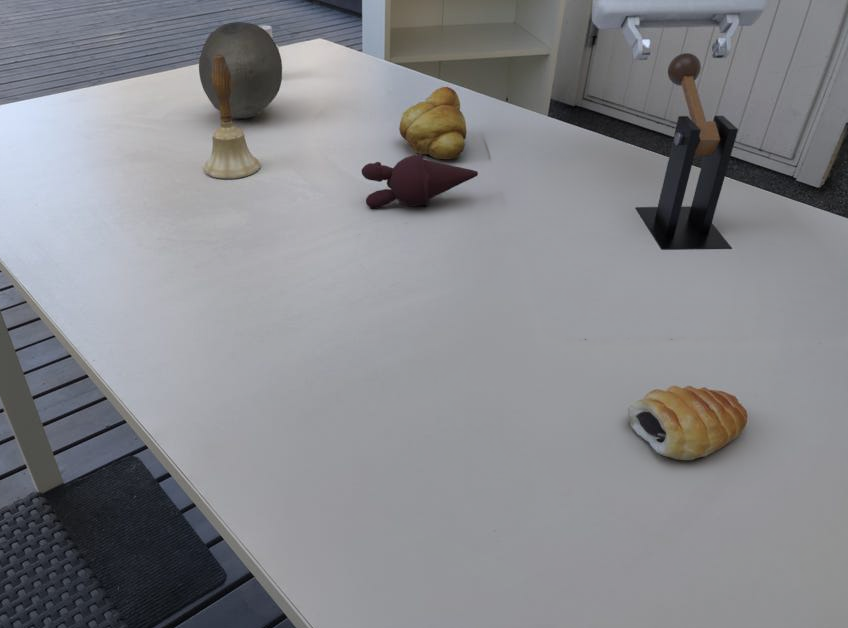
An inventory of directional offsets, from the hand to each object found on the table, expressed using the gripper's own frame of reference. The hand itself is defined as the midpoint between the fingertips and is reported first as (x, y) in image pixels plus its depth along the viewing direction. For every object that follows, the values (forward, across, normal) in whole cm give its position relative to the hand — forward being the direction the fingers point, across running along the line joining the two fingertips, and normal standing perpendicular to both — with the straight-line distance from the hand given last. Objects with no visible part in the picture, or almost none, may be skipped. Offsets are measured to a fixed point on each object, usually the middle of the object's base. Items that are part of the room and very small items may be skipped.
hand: (682, 56), depth 89 cm
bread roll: (0, -28, +25) cm, 37 cm away
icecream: (+14, -31, +11) cm, 36 cm away
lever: (+8, 0, -1) cm, 8 cm away
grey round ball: (-11, -59, +36) cm, 70 cm away
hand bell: (+5, -58, +20) cm, 62 cm away
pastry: (+46, -11, -20) cm, 51 cm away
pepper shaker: (-26, -58, +52) cm, 82 cm away
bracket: (+21, 0, +4) cm, 21 cm away
